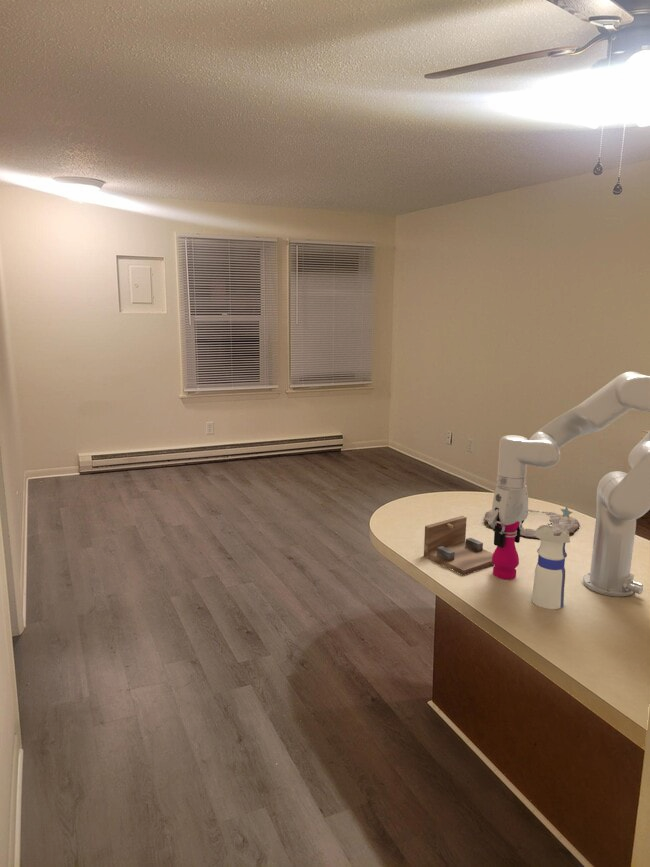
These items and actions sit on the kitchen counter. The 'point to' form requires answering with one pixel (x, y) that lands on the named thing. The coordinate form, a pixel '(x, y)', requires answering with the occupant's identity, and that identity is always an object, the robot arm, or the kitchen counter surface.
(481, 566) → the pegged stand
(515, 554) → the pepper mill
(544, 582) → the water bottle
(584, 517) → the kitchen counter surface
